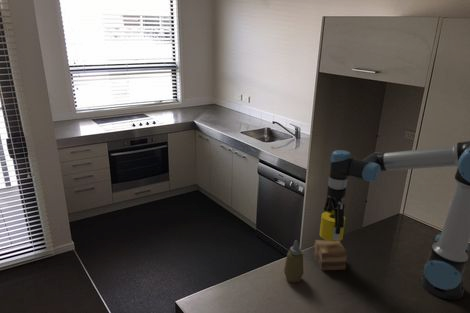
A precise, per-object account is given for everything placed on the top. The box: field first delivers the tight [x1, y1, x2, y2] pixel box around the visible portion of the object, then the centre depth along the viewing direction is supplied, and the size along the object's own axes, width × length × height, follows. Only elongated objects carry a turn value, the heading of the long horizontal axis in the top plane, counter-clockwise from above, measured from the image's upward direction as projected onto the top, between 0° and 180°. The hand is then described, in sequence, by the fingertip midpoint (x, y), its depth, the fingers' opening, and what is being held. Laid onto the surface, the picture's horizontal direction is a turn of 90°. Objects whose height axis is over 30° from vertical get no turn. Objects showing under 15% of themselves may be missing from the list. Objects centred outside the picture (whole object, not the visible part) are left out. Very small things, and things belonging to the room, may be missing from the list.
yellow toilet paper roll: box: [319, 211, 346, 242], centre depth 158 cm, size 10×10×9 cm
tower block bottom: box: [313, 248, 347, 271], centre depth 163 cm, size 11×11×4 cm
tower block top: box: [313, 239, 348, 263], centre depth 162 cm, size 11×11×4 cm
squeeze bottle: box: [283, 240, 304, 284], centre depth 149 cm, size 8×8×18 cm
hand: (331, 233), depth 159 cm, fingers closed on yellow toilet paper roll, 10 cm apart
